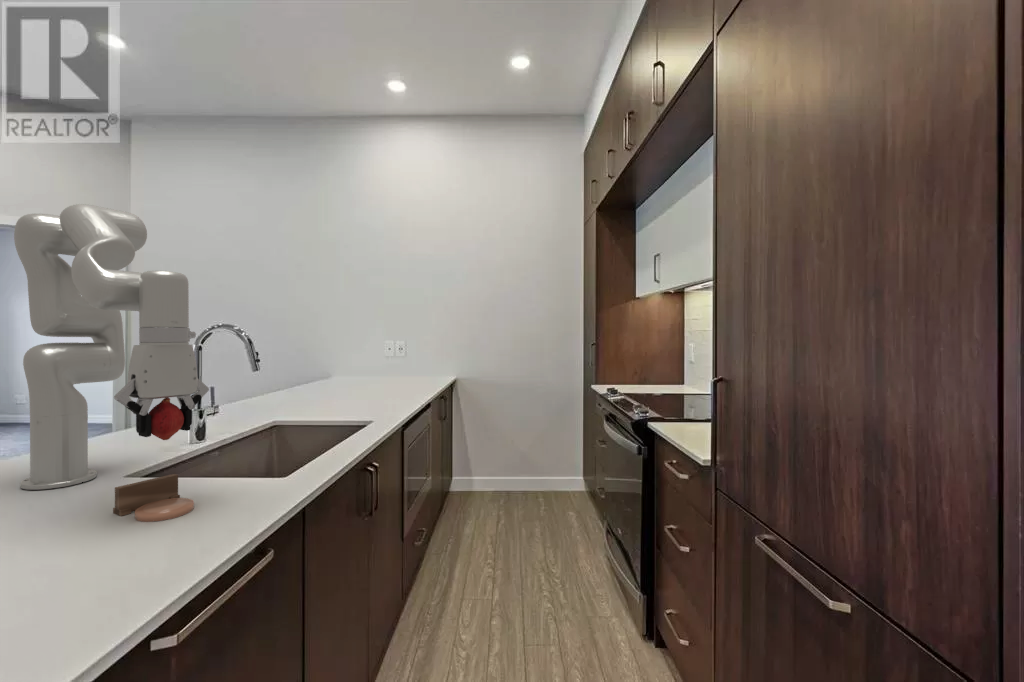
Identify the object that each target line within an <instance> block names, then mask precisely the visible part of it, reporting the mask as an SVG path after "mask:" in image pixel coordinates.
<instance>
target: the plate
mask: <svg viewBox="0 0 1024 682" xmlns="http://www.w3.org/2000/svg"><path fill="white" fill-rule="evenodd" d="M194 509H195V501H194V499H192V498H187V497H180V498H173V499H165V500H160V501H155V502H151V503H148V504H145V505H143V506H141V507H139V508H137V509H136V510H135V511H134V519H135V521H137V522H141V523H142V522H143V523H145V522H146V523H149V522H161V521H162V522H163V521H166V520H172V519H176V518H179V517H182V516H184V515H187V514H189V513H191V512H192V511H193V510H194Z"/></svg>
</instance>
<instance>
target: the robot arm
mask: <svg viewBox="0 0 1024 682" xmlns="http://www.w3.org/2000/svg"><path fill="white" fill-rule="evenodd" d="M13 232H14V233H13V238H14V239H13V240H14V246H15V249H16V253H17V255H18V258H19V260H20V262H21V265H22V267H23V269H24V271H25V275H26V279H27V291H28V292H27V295H28V309H29V318H30V320H29V321H30V324H31V325H30V326H31V328H32V329H33V330H32V331H34V333H36V334H37V335H40V336H45V337H51V338H52V337H53V338H55V337H56V338H59V337H60V338H91V339H92V342H48V343H41V344H37V345H35V346H31V347H30V348H29V349H28V350H26V352H25V353H24V356H23V361H22V362H23V363H22V365H23V372H24V375H25V378H26V383H27V389H28V398H29V399H28V400H29V466H30V467H29V468H30V469H29V471H30V473H29V476H30V477H27V478H24V479H22V480H21V481H20V483H19V488H21V489H22V490H27V491H28V490H29V491H37V490H39V491H41V490H51V489H58V488H63V487H68V486H69V487H70V486H74V485H79V484H82V482H83V483H85V482H88V481H91V480H94V479H95V478H96V477H97V476H98V472H97V471H96V470H95V469H92V468H91V469H89V467H88V466H89V459H88V458H89V457H88V456H89V455H88V453H89V451H88V450H89V445H88V443H89V437H88V436H89V435H88V434H89V433H88V432H89V431H88V430H89V429H88V428H89V424H88V422H89V421H88V418H89V417H88V411H89V410H88V402H87V401H88V400H87V399H86V397H85V396H84V395H83V394H82V393H81V392H80V391H78V389H77V388H76V387H75V385H80V384H87V383H88V384H90V383H102V382H103V383H104V382H112V381H115V380H117V379H119V378H121V377H122V374H123V373H124V371H125V367H126V366H125V364H126V357H125V356H126V355H125V342H124V329H123V328H124V327H123V326H124V325H123V318H122V317H123V316H122V314H121V311H127V312H130V311H131V312H138V313H139V314H138V316H139V318H138V324H139V326H138V327H139V328H138V329H139V331H138V334H139V336H138V340H139V344H134V345H133V347H132V350H131V355H130V359H129V365H128V372H127V373H128V374H127V375H128V376H127V383H126V384H125V385H124V386H123V387H122V388H121V389H119V391H118V392H117V393H116V394H115V395H114V397H113V398H114V400H115V401H117V402H118V403H120V404H121V405H123V406H124V407H125V408H126V409H128V410H129V411H130V412H132V413H133V414H134V415H135V430H136V433H137V434H138V436H139V437H143V438H148V437H149V438H150V437H151V436H152V434H151V415H148V413H149V412H150V407H151V405H152V404H153V402H154V400H157V399H164V398H176V399H177V401H178V403H179V405H180V408H179V409H180V410H181V411H182V413H183V416H184V423H183V425H182V427H181V429H180V430H179V431H184V432H185V431H186V432H187V431H188V432H189V431H191V425H193V410H194V409H195V407H196V405H197V404H198V403H199V402H200V401H201V400H202V398H203V397H204V396H205V395H207V393H208V392H209V391H210V388H209V387H208V386H207V385H206V384H205V383H204V382H203V381H202V380H201V379H200V378H198V367H197V359H196V355H195V350H194V347H193V345H192V344H190V340H191V339H195V338H196V337H197V336H196V335H197V334H196V331H191V329H190V328H189V326H190V325H189V323H190V321H189V320H190V319H189V308H190V307H189V301H190V300H189V296H190V295H189V294H190V293H189V279H188V277H187V276H186V275H185V274H182V273H181V272H176V271H167V270H147V271H144V272H139V271H129V270H122V269H125V268H126V267H128V265H130V264H131V263H132V262H133V261H134V259H135V255H136V252H137V251H140V249H142V248H143V247H144V245H145V244H146V242H147V239H148V231H147V227H146V224H145V223H144V221H143V220H142V219H141V218H140V217H139V216H137V215H135V214H134V213H131V212H127V211H122V210H118V209H113V208H108V207H103V206H100V205H99V206H98V205H93V204H86V203H79V204H77V203H75V204H73V205H69V206H67V207H65V208H64V209H63V210H62V211H61V213H60V214H59V215H56V214H48V213H27V214H24V215H23V216H20V217H19V218H18V220H17V221H16V223H15V225H14V231H13ZM59 255H64V256H73V257H74V258H73V260H72V262H71V265H70V264H69V263H68V262H67V261H66V260H64V258H62V257H61V256H59ZM130 397H131V398H133V399H135V398H136V399H137V400H136V401H134V400H132V399H131V398H130Z"/></svg>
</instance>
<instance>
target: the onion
mask: <svg viewBox="0 0 1024 682" xmlns="http://www.w3.org/2000/svg"><path fill="white" fill-rule="evenodd" d="M180 409H181V408H179V407H178V405H175V404H174V403H172V402H171V397H169V398H162V400H161V401H160V402H159V403H158V404H155V406H153V407H152V409H150V410H149V411H148V415H151V435H152V436H154V437H156V438H158V439H161V440H162V441H168V440H170V439H171V438H172V437H173V436H174V435H175V434H176V433H178V432H179V431H181V430H180V429H181V427H182V425H183V423H184V416H183V413H182V411H181V410H180Z"/></svg>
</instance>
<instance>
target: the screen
mask: <svg viewBox="0 0 1024 682" xmlns="http://www.w3.org/2000/svg"><path fill="white" fill-rule="evenodd" d="M173 498H181V495H180V494H179V475H178V474H176V473H172V474H167V475H164V476H158V477H154V478H150V479H146V480H145V479H144V480H142V481H137V482H132V483H128V484H124V485H119V486H116V487H114V507H113V508H112V511H113V512H112V514H114V515H117V516H119V517H124V516H126V515H131V514H132V513H135V510H136V509H137V508H139V507H141V506H143V505H145V504H148V503H151V502H155V501H160V500H165V499H173Z"/></svg>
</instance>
